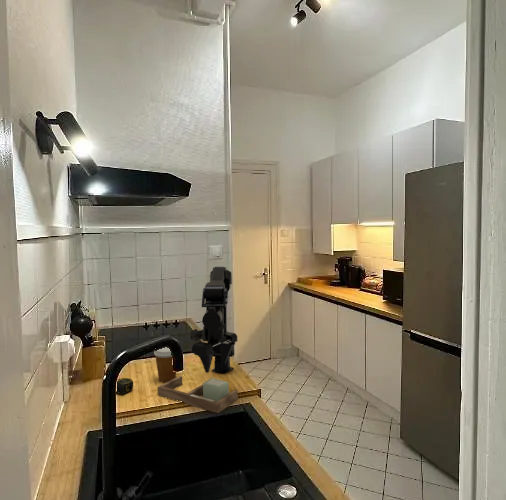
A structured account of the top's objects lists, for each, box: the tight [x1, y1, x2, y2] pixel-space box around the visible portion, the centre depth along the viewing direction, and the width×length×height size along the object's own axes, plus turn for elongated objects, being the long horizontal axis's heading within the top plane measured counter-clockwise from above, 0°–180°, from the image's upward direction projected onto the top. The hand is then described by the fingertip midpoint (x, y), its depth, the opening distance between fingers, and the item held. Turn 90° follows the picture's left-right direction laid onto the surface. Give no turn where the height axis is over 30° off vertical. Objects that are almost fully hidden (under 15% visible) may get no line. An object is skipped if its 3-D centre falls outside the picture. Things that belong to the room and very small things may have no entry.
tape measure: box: [116, 377, 134, 395], centre depth 132 cm, size 7×7×4 cm
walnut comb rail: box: [157, 375, 239, 414], centre depth 126 cm, size 11×26×3 cm, turn 59°
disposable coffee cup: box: [153, 347, 177, 383], centre depth 142 cm, size 10×10×12 cm
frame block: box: [202, 377, 230, 401], centre depth 126 cm, size 5×7×6 cm
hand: (215, 368), depth 125 cm, fingers open, 9 cm apart
